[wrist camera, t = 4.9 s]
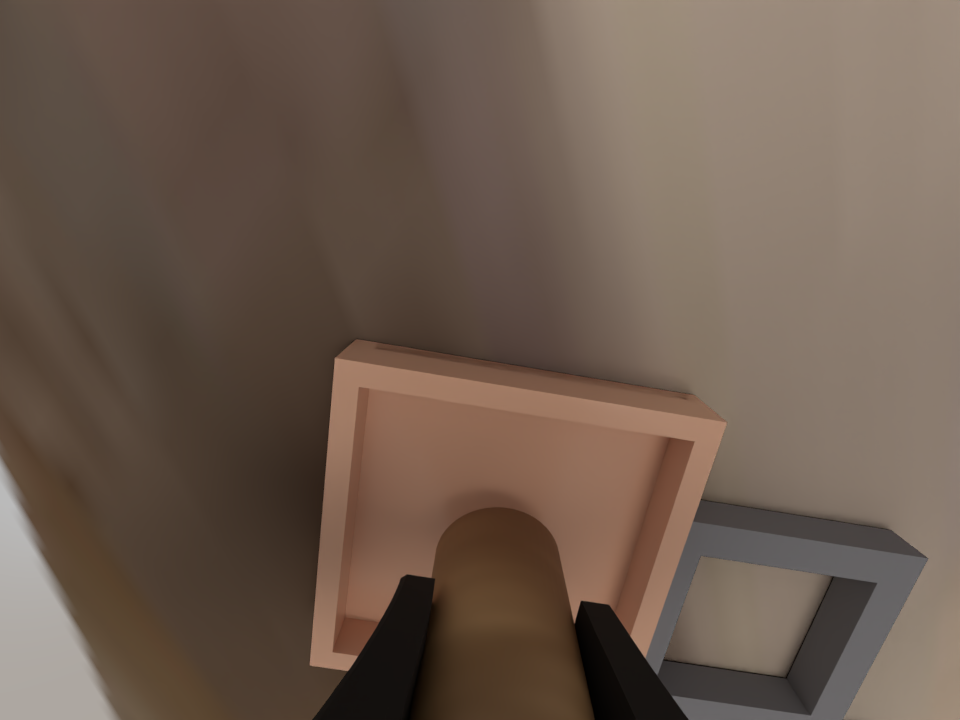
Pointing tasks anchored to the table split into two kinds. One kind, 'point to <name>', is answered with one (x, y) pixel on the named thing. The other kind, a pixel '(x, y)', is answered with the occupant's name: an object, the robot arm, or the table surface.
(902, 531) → the table surface
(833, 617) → the socket
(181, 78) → the table surface
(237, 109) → the table surface
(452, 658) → the dowel
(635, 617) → the tray
